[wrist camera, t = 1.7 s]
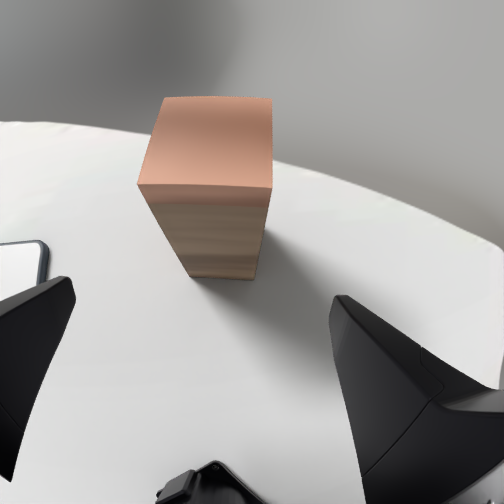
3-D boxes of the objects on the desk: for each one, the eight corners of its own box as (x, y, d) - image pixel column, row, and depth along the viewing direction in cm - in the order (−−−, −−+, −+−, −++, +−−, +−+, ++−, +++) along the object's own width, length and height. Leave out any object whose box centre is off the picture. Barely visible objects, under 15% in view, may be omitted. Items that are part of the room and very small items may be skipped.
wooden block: (253, 280, 22) (272, 187, 10) (189, 276, 22) (137, 184, 10) (255, 221, 24) (272, 98, 12) (196, 218, 24) (164, 97, 12)
